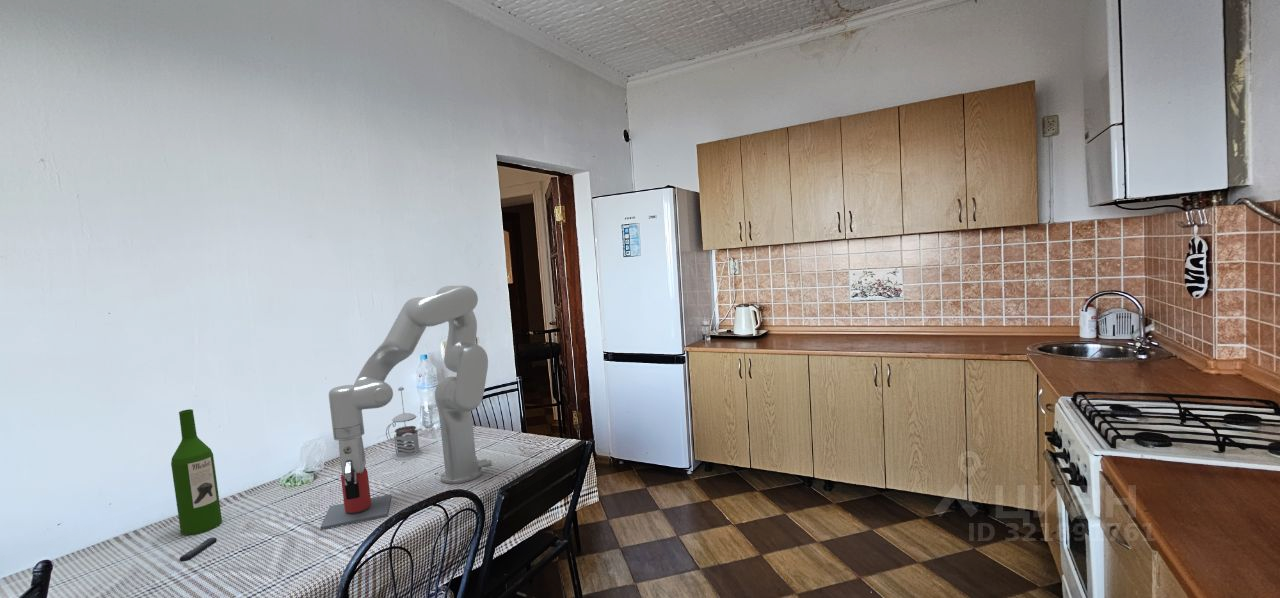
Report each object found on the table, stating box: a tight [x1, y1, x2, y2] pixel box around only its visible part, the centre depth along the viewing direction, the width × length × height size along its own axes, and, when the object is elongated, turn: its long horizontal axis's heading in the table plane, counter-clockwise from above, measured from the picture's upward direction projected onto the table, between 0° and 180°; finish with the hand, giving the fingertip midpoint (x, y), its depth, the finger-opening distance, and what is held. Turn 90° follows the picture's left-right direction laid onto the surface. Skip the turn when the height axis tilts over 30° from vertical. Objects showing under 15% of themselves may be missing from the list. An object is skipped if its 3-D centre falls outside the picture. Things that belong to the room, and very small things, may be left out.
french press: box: [385, 386, 424, 461], centre depth 200 cm, size 10×12×25 cm
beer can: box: [340, 465, 372, 514], centre depth 155 cm, size 7×7×12 cm
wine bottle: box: [170, 408, 223, 536], centre depth 152 cm, size 9×9×32 cm
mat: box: [320, 494, 392, 531], centre depth 155 cm, size 16×14×1 cm
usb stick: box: [179, 536, 218, 562], centre depth 139 cm, size 10×3×2 cm, turn 0°
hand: (355, 491), depth 154 cm, fingers open, 9 cm apart
